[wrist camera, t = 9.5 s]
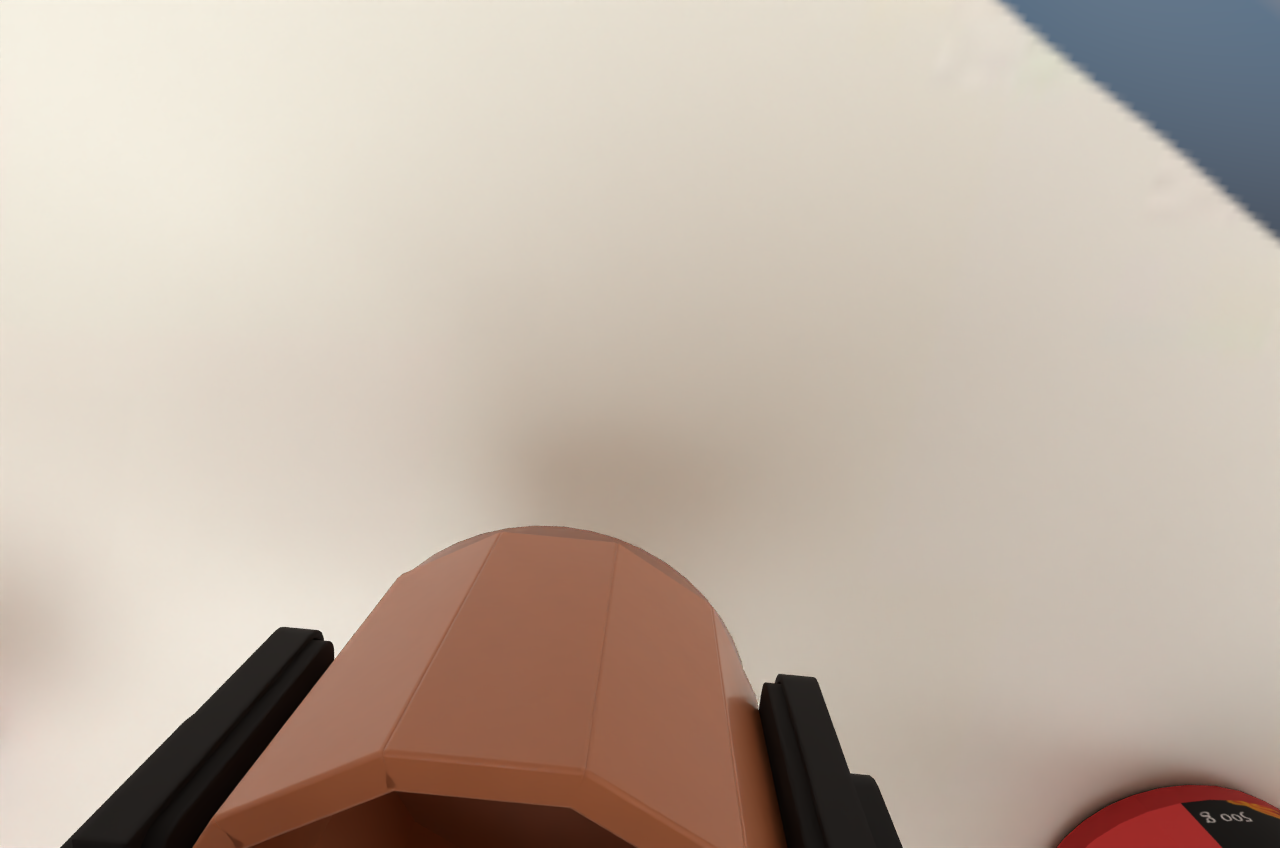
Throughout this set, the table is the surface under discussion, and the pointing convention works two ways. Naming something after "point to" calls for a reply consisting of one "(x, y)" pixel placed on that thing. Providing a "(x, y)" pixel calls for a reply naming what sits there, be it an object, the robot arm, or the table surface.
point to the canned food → (1181, 821)
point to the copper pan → (521, 714)
